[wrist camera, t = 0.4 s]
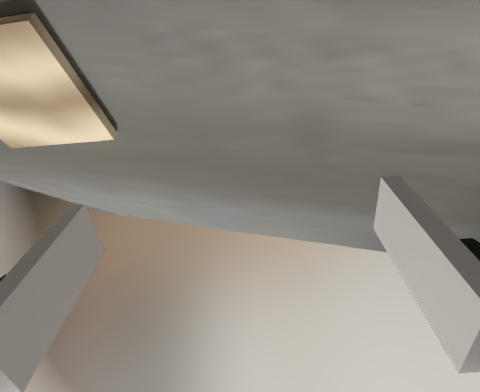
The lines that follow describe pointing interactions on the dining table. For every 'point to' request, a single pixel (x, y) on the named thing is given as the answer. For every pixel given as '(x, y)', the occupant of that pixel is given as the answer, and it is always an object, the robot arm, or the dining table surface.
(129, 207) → the dining table surface
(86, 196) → the dining table surface
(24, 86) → the board
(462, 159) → the dining table surface
